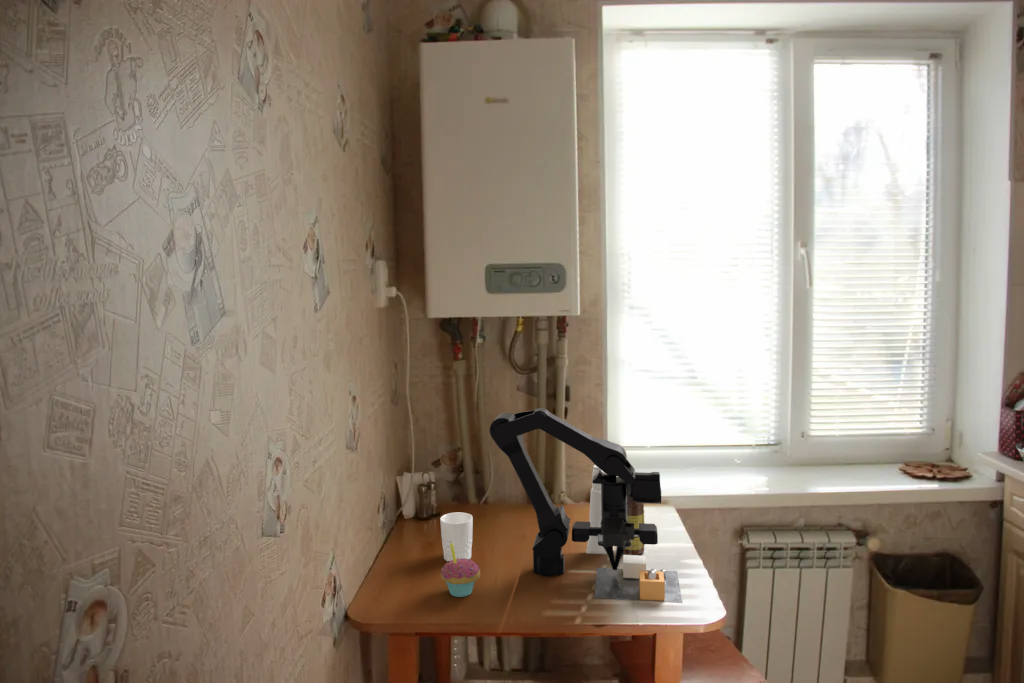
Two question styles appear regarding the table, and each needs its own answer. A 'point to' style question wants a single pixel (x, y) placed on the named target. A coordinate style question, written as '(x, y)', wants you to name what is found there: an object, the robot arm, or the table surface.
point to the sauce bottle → (634, 516)
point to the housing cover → (633, 565)
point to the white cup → (457, 534)
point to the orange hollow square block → (651, 586)
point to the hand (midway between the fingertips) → (614, 569)
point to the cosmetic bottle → (595, 515)
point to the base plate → (633, 585)
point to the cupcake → (460, 575)
